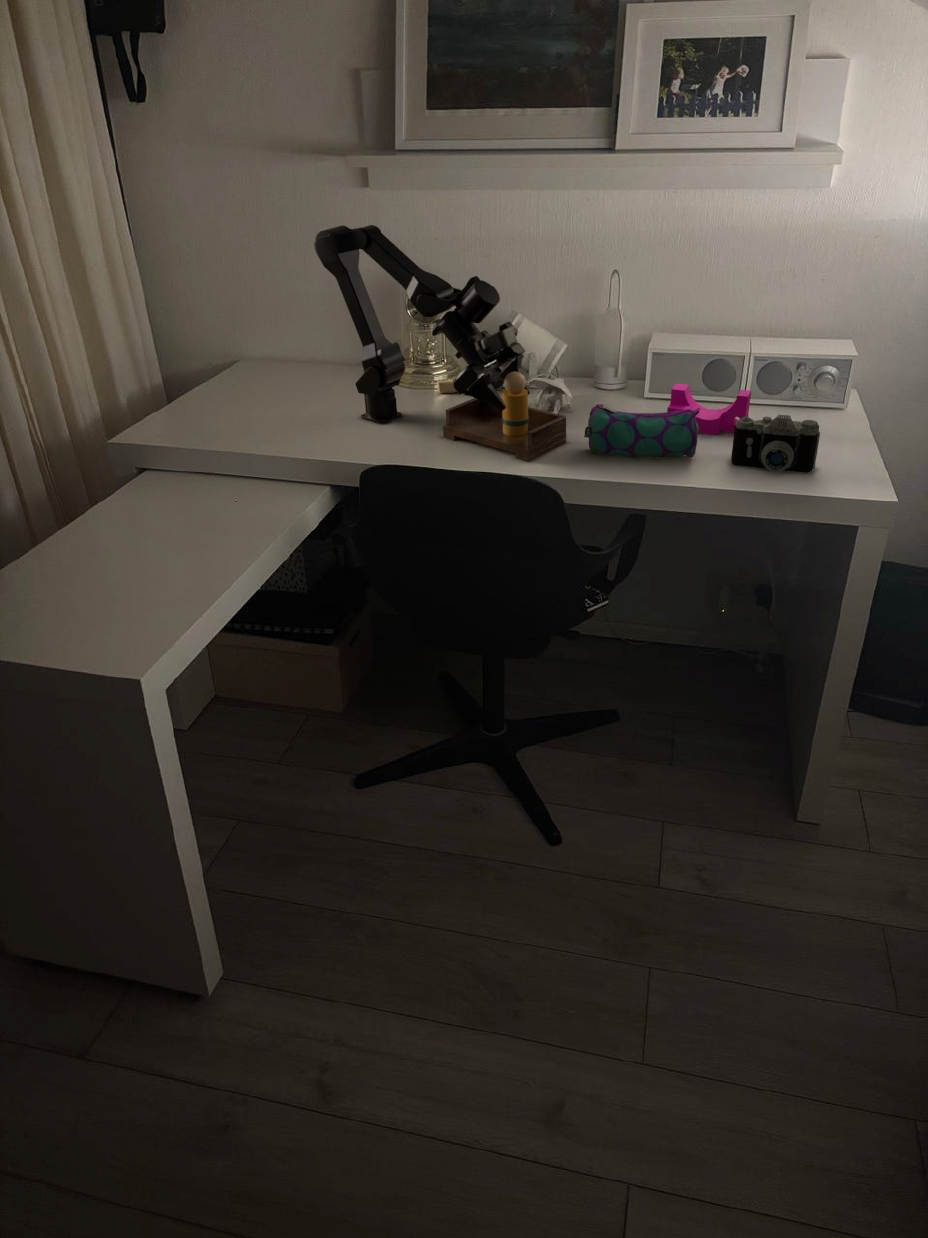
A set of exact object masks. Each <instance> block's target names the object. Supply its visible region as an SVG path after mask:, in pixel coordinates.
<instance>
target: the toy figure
mask: <svg viewBox="0 0 928 1238" xmlns="http://www.w3.org/2000/svg"><path fill="white" fill-rule="evenodd" d="M485 369H486V368H485ZM501 373H502V372H501ZM501 373H500V372H497V371H496V370H495V369H494V370H492V371H491V372H490V381H491V384H492V386H493V387H494V389H495V390H496V391H498V390H500V389H501V388H502V387H504V379H502V378H501V377H500V376H499V375H500V374H501ZM436 384H437V392H438V393H440V394H441V393H442V394H443V393H444V394H448V393H449V394H450V393H451V394H454V393H458V392H457V391H456V390H455V389H454V387H453V380H444V379H443V380H436Z"/></svg>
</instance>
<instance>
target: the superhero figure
mask: <svg viewBox="0 0 928 1238" xmlns="http://www.w3.org/2000/svg"><path fill="white" fill-rule="evenodd" d="M526 383H527V384H529V385H535V386H537V387H538V388H539V389H540V390H541V392H539V393H538V394H537V396H536V397H535V399H534V405H535V408H536V409H539V410H543V411H548V409H553V413H555V414H559V411H560V409H561V407H562V406H563V402H564V401H563V400H564V398H563V395H565V399H566V402H567V409H571V407H572V401H571V399H572V400H573V395H572V394H571V390H570V389H569V388H568V387H567V386H566V385H565V381H564V379H563V378H562V377H558V378H555V379H549V378H545V377H535V378H533V379H531V380H529V381H526ZM544 395H545V396H544ZM543 396H544V397H545V398H544V402H543V403H542V404H541V401H542V398H543Z"/></svg>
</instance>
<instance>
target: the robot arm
mask: <svg viewBox="0 0 928 1238" xmlns="http://www.w3.org/2000/svg"><path fill="white" fill-rule="evenodd" d="M313 247H314V251H315V253H316V255H317V257H318V259H319V261H320V263H321V264H322V266H323V267H324V268H325V270H327V271H328V272H329V273H330V274H331V275H332V276H333V277H334V278H335V280H336V282H337V285H338V287H339V290H340V292H341V295H342V297H343V300H344V302H345V305H346V308H347V310H348V313H349V315H350V317H351V320H352V323H353V325H354V327H355V330H356V332H357V335H358V338H359V340H360V343H361V346H362V351H361V365H362V369H363V373H362V374H361V376H360V377H359V378H358V379H357V381H355V384H354V385H355V388H356V391H357V392H358V394H361V395H363V396H364V405H365V407H364V408H365V413H363V414H361V415H360V418H361V419H364V420H366V421H367V420H368V421H371V422H374V423H378V424H384V423H387V422H389V421H392V420H394V419H396V418H399V417H402V415H403V414H402V412H400V411H398V406H397V405H398V403H397V396H396V392H395V388H394V387H397V386H399V385H400V383H401V378H402V377H403V375H404V373H405V370H406V365H405V361H406V358H405V356H404V355H403V353H402V350H401V346H400V344H399V342H398V341H396V342H393V343H391V341H389V339H387V338H386V336H385V334H384V332H383V328H382V326H381V322H380V321H379V319H378V316H377V313H376V311H375V308H374V304H373V303H372V300H371V298H370V295H369V292H368V290H367V288H366V285H365V283H364V280H363V276H362V275H361V272H360V267H359V266H360V265H359V263H360V250H361V251H363V252H364V253H365V254H367V256H368V257H370V258H371V259H372V260H373V261H374V262H375V263H376V264H377V265H378V266H380V267H381V268H382V269H383V270H384V271H385V272H386V273H387V274H388V275H389V276H390V277H391V278H392V279H393V280H395V282H397V283H398V285H400V286H402V288H403V289H404V290H405V292H406V294H407V298H408V300H409V302H410V303H411V304H412V306H413V307H414V308H415V310H416V311H417V312H418V313H419V314H420V315H421V316H422V317H424V318H434V317H436V316H438V315H440V314H443V313H444V314H443V316H442V317H441V318H437V319H435V320H433V321H432V330H431V336H432V337H436V336H438V335H440V334H443V335H444V336H445V338H446V339H447V340H448V341H449V343H450V344H451V345H452V346H453V348H454V349H455V350H456V351H457V352H456V353H455V354H454V356H455V358H456V359H461V358H462V359H463V360H464V362H465V363H466V364H467V365H466V366H465V367H464V368H463V370H461V372H460V373H458V375H456V377H455V378H454V379H452V381H453V387H454V389H455V390H456V391H457V392H456V393H457V394H458V395H459V396H460V395H462V394H464V396H465V397H468V396H469V397H471V398H476V399H478V400H481V401H483V402H485V403H487V404H489V405H491V406H493V407H495V408H497V409H499V410H501V411H503V410H504V409H505V408H506V406H505V404H504V402H503V400H502V396H500V394H499V393H498V391H497V390H496V389H494V387H493V386H492V384H491V381H490V372H491V371H492V370H494V369H495V370H496V371H497V372H500V373H501V372H502V373H501V374H500V375H499V376H500V377H501V378H502V379H504V380H505V377H506V376H507V375H508V374H509V373H511V372H519V373H521V374H522V375H523V376H524V377H525V374H524V372H523V368H522V363H523V359H524V358H525V356H524V355H525V354H524V353H525V352H526V349H525V348H524V347H523V346H522V344H521V343H520V342H518V339H517V336H518V333H519V329H518V328H516V327H515V326H514V324H513V323H512V322H510V321H507V322H504V323H503V324H499V326H498V331H496V332H494V333H491V334H490V332H488V331H487V330H485V329H484V330H482V331H480V329H479V328H478V326H476V324H481V323H482V322H483V321H484V320H485V319H486V318H487V317H488V315H490V313H491V312H492V311H493V310H494V309H495V308H496V306H497V305H498V304H499V303H500V301H501V297H500V293H499V291H498V289H496V287H495V286H494V285H491V284H490V283H489V282H487V281H485V280H482V279H480V277H478V275H474V276H472V277H470V278H469V279H468V280H467V282H466V283H465V285H464V286H463V288H462V289H460V288H456V287H454V286H452V285H451V284H450V282H448V281H446V280H445V279H443V278H441V277H440V276H439V275H437V274H434V273H431V272H428V271H426V270H424V269H423V268H421V267H419V266H418V265H417V263H416V262H414V261H413V260H412V258H410V257H408V256H407V255H406V254H405V253H404V252H403V251H402V250H401V249H400V248H399V247H398V246H396V245H395V243H393V242H392V241H391V240H390V239H389V238H388V237H387V236H385V235H384V233H382V230H381V229H380V227H378V226H377V225H374V224H369V225H365V226H362V227H361V226H360V227H356V228H350V227H348V226H346V225H343V224H342V225H338V226H335V227H330V228H327V229H323V230H320V231H318V232H317V233H316V235H315V237H314V241H313ZM454 307H455V308H454ZM452 308H454V309H453V310H451V309H452ZM485 368H486V369H485ZM524 389H526V390H527V391H528V396H529V395H530V394H531V390H530V388H529V386H528V383H527V382H526V386H525V388H524Z"/></svg>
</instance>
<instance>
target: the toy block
mask: <svg viewBox="0 0 928 1238" xmlns="http://www.w3.org/2000/svg"><path fill="white" fill-rule="evenodd" d="M670 391H671V392H670V402H669V405H667V409H666V413H667V412H673V411H678V410H686V409H691V410H693V411H695V410H696V409H698V408H700V411H699V413H698V414H697V415H696V416H695V418H696V421H697V424H698V427H699V432H698V434H705V435H714V436H718V435H719V434H720V432H727V433H734V430H735V424H736V423H737V421H738V419H740V418H743V417H746V416H747V417H748V418H749V413H750V404H751V396H752V390H748V389H740V390H739V392H738V394H737V396H736V398H735V400H734V401H733V402H732V403H731V404H729V405H728V406H726V407H723V408H718V409H713V408H708V407H705V406H704V405H701V404H700V403H698V402H697V400H696V399H695V398H694V397H693V395H692V393H691V389H690V385H689V384H684V383H675V384H674V386H673V387H672V388H671V390H670ZM737 418H738V419H737Z"/></svg>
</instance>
